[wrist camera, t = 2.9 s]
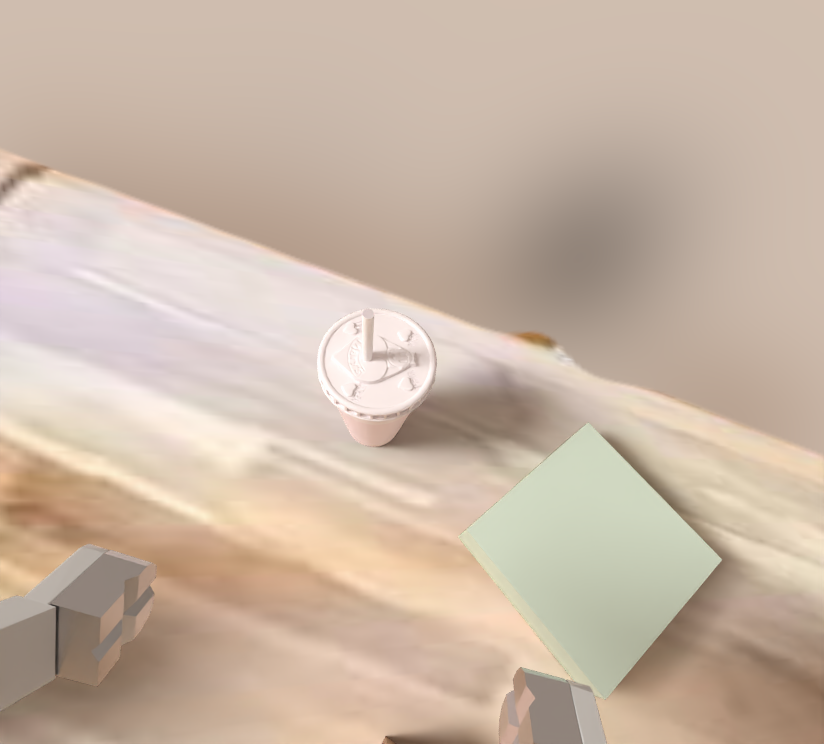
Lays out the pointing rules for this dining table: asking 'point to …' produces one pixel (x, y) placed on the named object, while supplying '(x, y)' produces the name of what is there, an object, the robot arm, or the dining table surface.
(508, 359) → the dining table surface
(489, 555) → the pedestal
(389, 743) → the brick
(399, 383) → the smoothie
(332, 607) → the dining table surface
